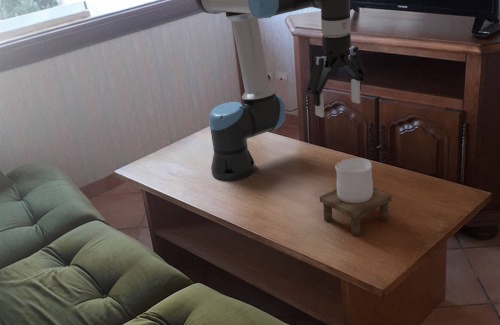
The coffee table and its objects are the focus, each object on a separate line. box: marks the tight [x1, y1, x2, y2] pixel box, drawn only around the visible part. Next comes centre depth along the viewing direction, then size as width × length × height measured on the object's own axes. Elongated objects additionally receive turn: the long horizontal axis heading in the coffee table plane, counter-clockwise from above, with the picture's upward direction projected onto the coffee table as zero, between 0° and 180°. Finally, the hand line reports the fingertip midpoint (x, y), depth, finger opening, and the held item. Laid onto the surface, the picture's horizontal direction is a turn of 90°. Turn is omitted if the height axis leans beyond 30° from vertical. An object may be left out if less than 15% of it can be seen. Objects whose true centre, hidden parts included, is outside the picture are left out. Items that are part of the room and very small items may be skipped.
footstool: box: [319, 187, 393, 238], centre depth 167 cm, size 14×14×8 cm
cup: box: [334, 157, 374, 203], centre depth 164 cm, size 10×10×10 cm
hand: (338, 109), depth 166 cm, fingers open, 13 cm apart
